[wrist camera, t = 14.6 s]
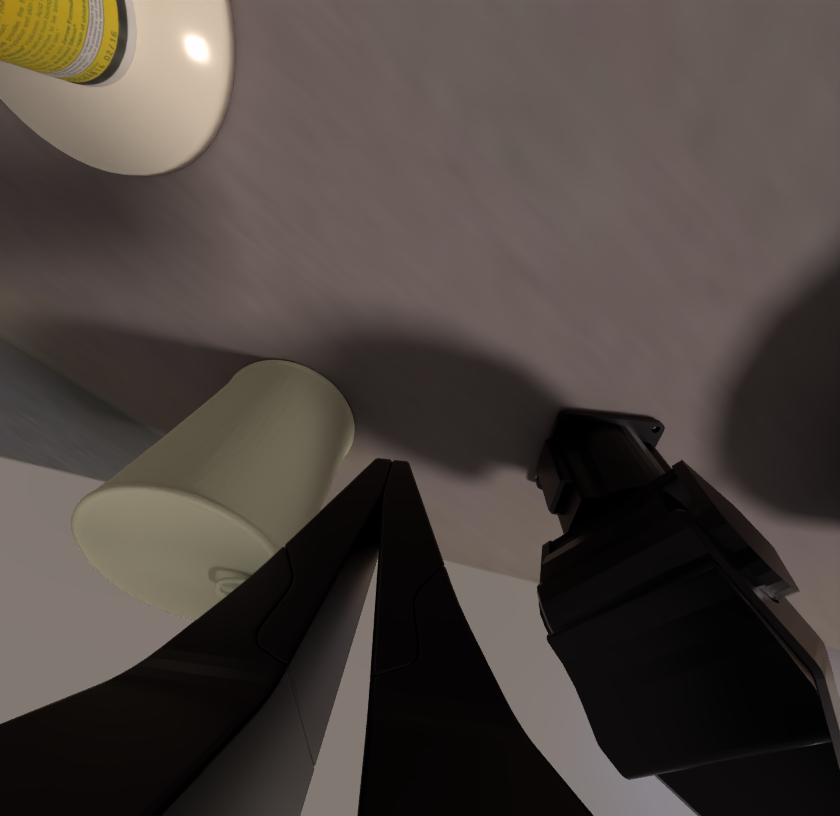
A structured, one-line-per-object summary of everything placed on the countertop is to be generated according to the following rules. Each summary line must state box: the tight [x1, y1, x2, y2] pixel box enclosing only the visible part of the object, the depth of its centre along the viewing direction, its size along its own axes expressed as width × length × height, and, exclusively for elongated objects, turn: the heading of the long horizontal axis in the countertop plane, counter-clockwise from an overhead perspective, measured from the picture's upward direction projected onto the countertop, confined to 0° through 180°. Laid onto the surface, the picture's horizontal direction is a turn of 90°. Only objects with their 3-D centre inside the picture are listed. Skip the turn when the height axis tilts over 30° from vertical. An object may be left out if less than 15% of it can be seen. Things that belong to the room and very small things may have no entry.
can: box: [71, 360, 355, 620], centre depth 20 cm, size 9×9×12 cm
